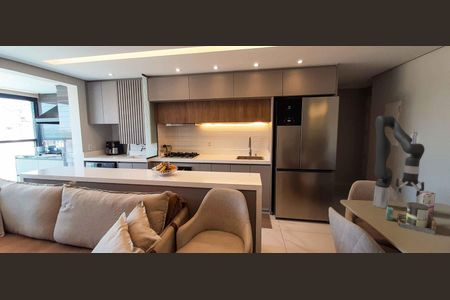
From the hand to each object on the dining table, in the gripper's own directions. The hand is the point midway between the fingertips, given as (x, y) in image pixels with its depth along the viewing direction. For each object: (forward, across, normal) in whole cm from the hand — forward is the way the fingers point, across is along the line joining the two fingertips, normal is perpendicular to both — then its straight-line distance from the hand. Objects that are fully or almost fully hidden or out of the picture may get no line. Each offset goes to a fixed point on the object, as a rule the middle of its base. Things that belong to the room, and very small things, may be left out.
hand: (408, 194), depth 134 cm
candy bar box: (+19, +7, +24) cm, 31 cm away
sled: (+19, +2, -6) cm, 20 cm away
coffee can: (+19, +6, -5) cm, 21 cm away
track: (+19, +4, -5) cm, 20 cm away
